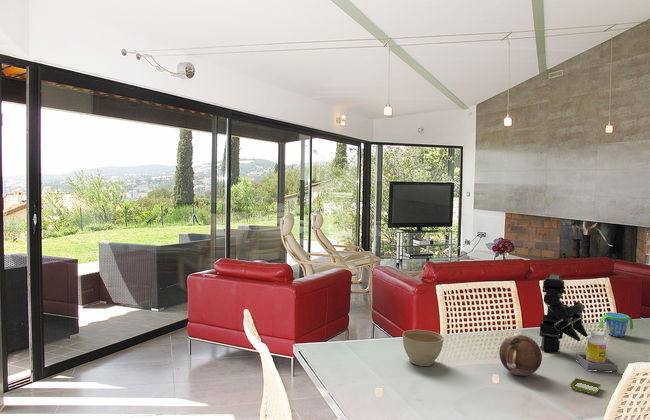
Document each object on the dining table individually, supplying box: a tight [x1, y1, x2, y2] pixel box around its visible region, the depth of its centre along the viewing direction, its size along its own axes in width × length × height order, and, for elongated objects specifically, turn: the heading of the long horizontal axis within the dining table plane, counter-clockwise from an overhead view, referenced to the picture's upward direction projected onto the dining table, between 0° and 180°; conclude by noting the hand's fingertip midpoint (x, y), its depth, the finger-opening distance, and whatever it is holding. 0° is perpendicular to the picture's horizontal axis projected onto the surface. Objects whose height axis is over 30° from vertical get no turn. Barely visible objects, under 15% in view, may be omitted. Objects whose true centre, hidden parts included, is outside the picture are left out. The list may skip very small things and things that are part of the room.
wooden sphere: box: [498, 334, 543, 377], centre depth 184 cm, size 15×15×15 cm
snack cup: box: [599, 312, 634, 338], centre depth 239 cm, size 16×10×10 cm
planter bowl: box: [402, 329, 444, 367], centre depth 194 cm, size 16×16×11 cm
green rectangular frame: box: [569, 377, 602, 395], centre depth 173 cm, size 9×9×2 cm
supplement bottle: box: [586, 330, 607, 364], centre depth 195 cm, size 7×7×13 cm
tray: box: [575, 353, 619, 373], centre depth 195 cm, size 11×11×3 cm
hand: (583, 338), depth 199 cm, fingers open, 9 cm apart
